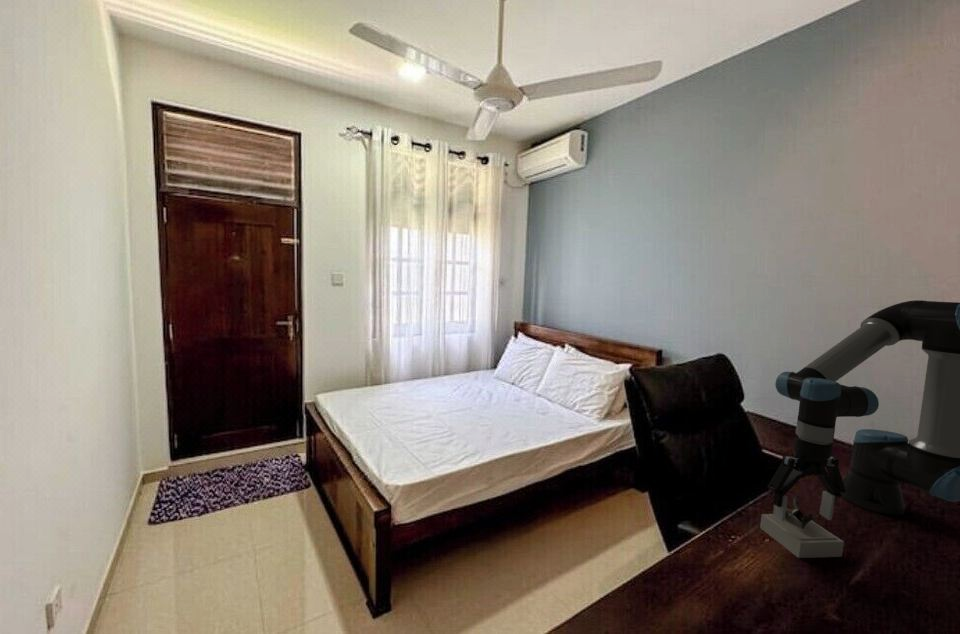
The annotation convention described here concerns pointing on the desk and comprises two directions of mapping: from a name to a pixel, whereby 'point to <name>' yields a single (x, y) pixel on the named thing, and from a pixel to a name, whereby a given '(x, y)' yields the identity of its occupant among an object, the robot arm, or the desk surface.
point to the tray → (802, 537)
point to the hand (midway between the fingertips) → (802, 517)
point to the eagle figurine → (800, 513)
